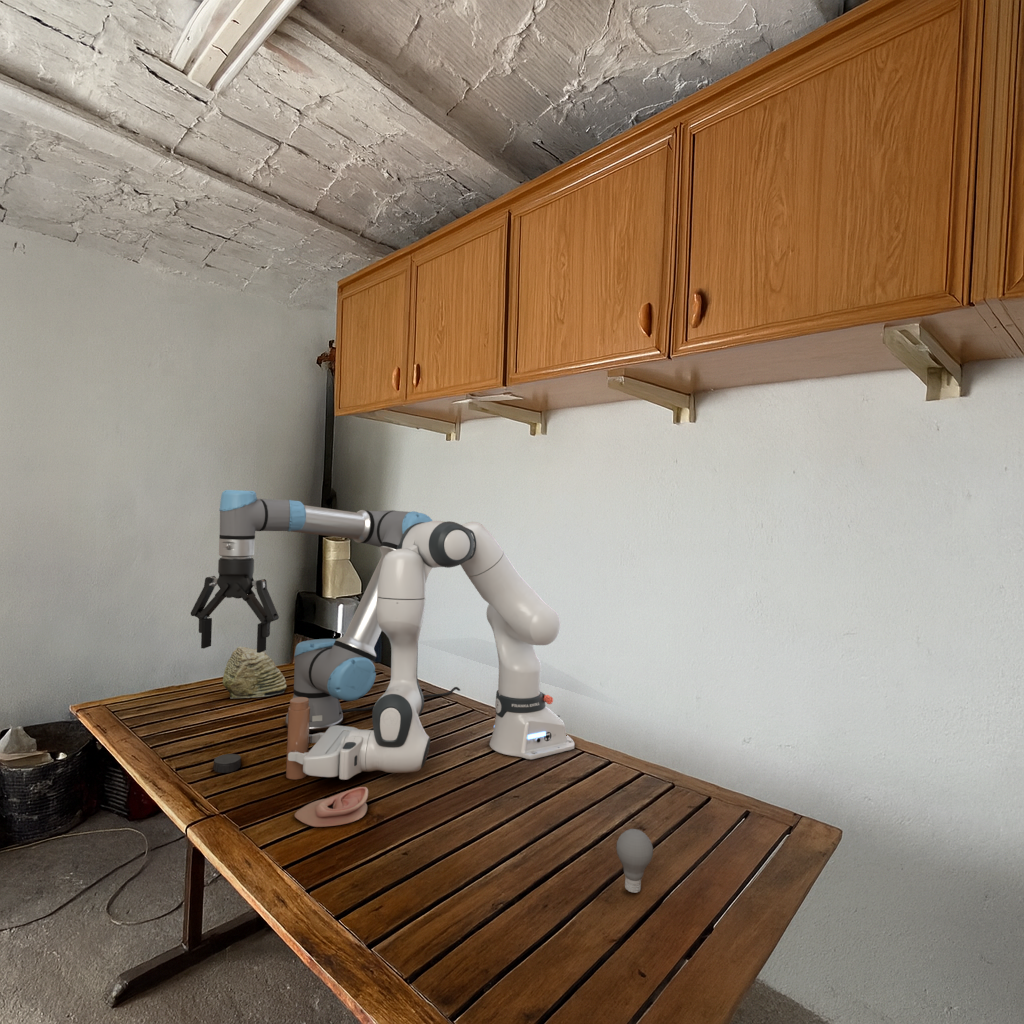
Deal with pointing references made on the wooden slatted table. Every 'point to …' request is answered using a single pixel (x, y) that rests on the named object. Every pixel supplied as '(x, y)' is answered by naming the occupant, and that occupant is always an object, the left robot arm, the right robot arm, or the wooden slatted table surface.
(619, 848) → the light bulb
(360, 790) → the anatomical model
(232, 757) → the lid
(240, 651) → the fossil
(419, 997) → the wooden slatted table surface
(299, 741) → the jar
